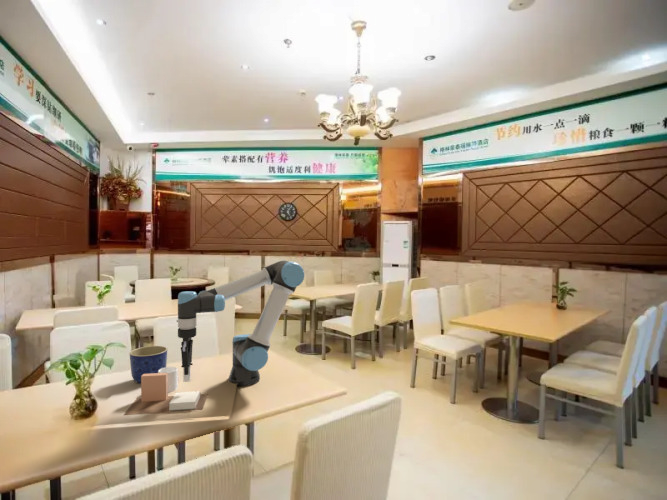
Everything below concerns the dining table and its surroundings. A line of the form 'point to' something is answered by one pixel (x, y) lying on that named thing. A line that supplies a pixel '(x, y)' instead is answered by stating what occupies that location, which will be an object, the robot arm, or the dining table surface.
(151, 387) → the tile plain
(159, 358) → the planter
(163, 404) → the board
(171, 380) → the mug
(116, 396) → the dining table surface
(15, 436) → the dining table surface
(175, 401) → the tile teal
